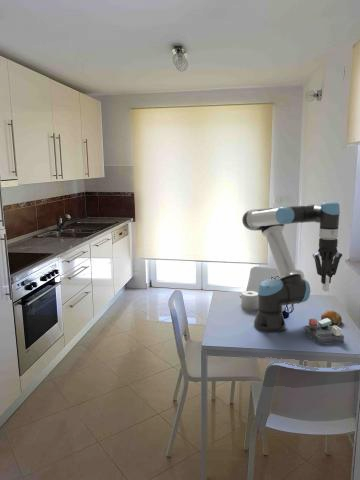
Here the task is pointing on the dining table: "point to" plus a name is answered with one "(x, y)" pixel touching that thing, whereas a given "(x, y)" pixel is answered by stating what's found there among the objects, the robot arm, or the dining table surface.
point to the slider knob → (336, 330)
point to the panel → (323, 334)
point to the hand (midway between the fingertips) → (325, 290)
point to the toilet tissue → (249, 300)
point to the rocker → (324, 322)
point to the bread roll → (332, 317)
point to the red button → (312, 322)
